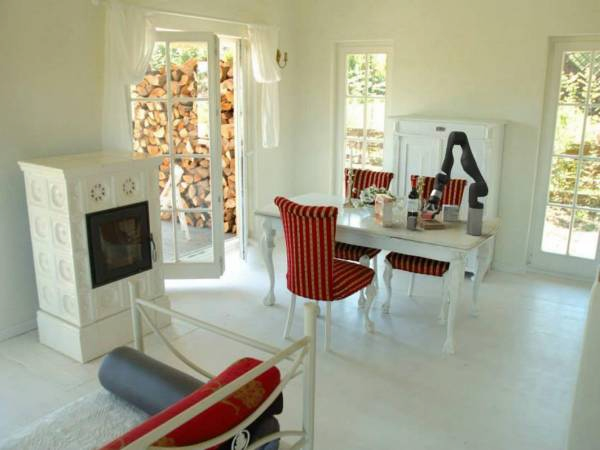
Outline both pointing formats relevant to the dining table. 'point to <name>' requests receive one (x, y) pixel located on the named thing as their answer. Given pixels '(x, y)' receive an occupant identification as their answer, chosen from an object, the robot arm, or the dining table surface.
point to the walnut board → (429, 223)
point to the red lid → (427, 215)
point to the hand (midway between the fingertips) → (427, 217)
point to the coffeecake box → (383, 210)
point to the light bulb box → (450, 213)
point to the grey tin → (411, 223)
